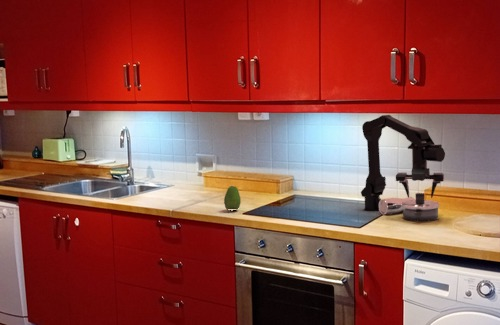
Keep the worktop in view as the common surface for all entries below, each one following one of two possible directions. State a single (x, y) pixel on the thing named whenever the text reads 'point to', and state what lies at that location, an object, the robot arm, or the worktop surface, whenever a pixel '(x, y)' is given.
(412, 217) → the pot
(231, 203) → the avocado
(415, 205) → the lid
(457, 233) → the worktop surface
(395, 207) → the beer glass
